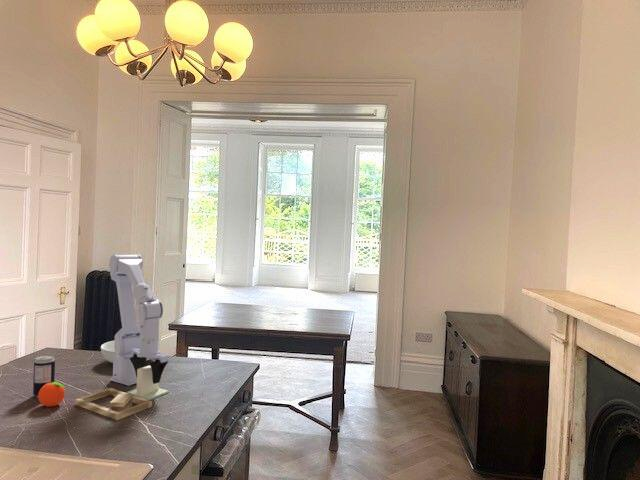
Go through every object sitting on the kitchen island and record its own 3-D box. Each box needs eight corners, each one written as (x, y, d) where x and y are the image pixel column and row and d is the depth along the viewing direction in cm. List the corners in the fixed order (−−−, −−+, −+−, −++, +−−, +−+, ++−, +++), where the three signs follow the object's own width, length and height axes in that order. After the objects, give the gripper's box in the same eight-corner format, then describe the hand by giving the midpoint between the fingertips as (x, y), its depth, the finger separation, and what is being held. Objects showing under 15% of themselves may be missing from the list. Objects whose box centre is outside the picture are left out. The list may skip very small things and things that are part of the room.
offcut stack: (109, 415, 133) (109, 402, 133) (118, 405, 140) (119, 393, 140) (123, 415, 134) (123, 403, 133) (132, 405, 141) (132, 394, 140)
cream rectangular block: (136, 393, 148) (137, 369, 148) (154, 387, 154) (154, 363, 154) (141, 395, 147) (142, 370, 147) (158, 389, 153) (159, 364, 153)
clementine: (73, 402, 141) (73, 379, 141) (58, 411, 134) (59, 387, 134) (47, 400, 141) (48, 377, 141) (32, 409, 135) (32, 385, 134)
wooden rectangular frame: (75, 404, 139) (75, 399, 139) (110, 392, 149) (111, 388, 149) (117, 420, 130) (117, 414, 130) (151, 406, 140) (152, 401, 140)
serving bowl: (156, 368, 175) (157, 350, 175) (95, 371, 169) (96, 353, 169) (159, 353, 195) (159, 337, 195) (104, 355, 189) (105, 338, 189)
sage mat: (126, 393, 149) (126, 391, 149) (147, 386, 157) (147, 384, 157) (147, 400, 144) (147, 398, 144) (168, 392, 152) (168, 390, 152)
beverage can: (58, 394, 147) (59, 356, 146) (41, 400, 141) (41, 361, 141) (46, 390, 149) (47, 353, 149) (28, 396, 144) (29, 358, 143)
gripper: (123, 337, 150) (122, 379, 150) (155, 344, 143) (153, 388, 143) (141, 333, 156) (140, 373, 157) (172, 340, 149) (171, 382, 149)
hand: (148, 380), depth 150 cm, fingers open, 7 cm apart
